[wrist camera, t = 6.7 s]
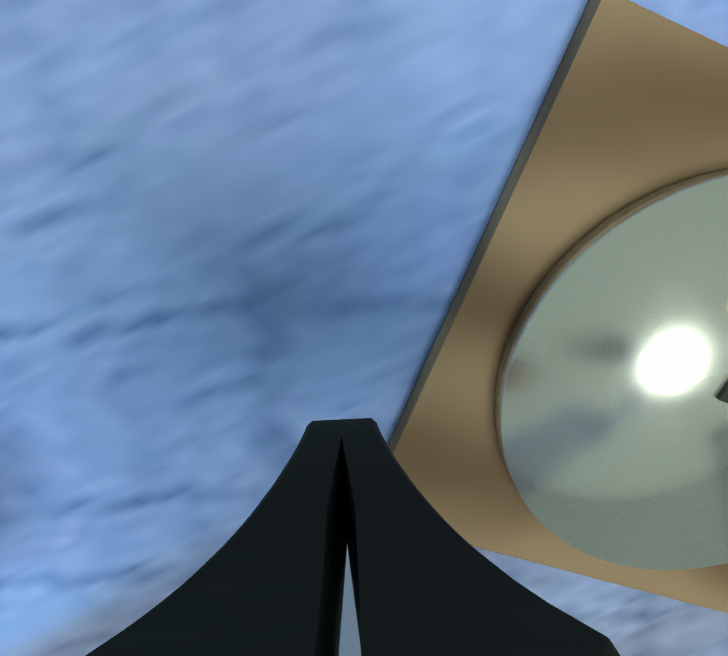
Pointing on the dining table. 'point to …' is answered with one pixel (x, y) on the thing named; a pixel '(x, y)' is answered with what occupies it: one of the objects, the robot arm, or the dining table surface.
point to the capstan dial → (628, 385)
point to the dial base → (546, 249)
